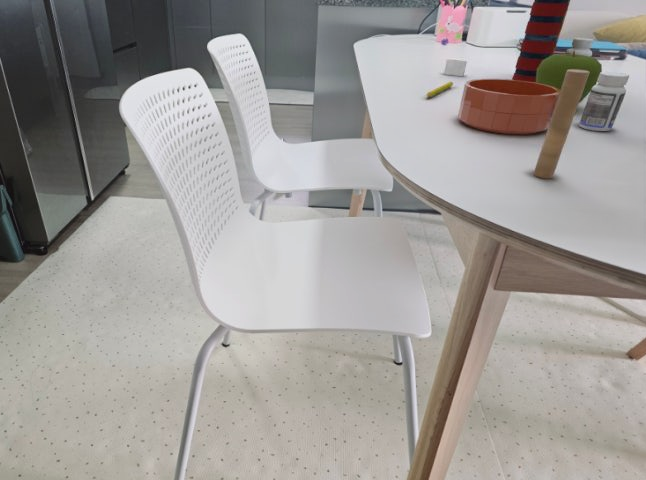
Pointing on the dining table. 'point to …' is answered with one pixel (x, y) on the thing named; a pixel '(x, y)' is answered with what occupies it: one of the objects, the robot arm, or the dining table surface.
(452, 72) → the eraser
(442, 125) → the dining table surface
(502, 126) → the bowl
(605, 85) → the pill bottle
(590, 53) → the supplement bottle
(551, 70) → the apple
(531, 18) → the red striped curved tube
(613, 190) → the dining table surface
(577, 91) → the stirring stick
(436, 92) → the pencil
